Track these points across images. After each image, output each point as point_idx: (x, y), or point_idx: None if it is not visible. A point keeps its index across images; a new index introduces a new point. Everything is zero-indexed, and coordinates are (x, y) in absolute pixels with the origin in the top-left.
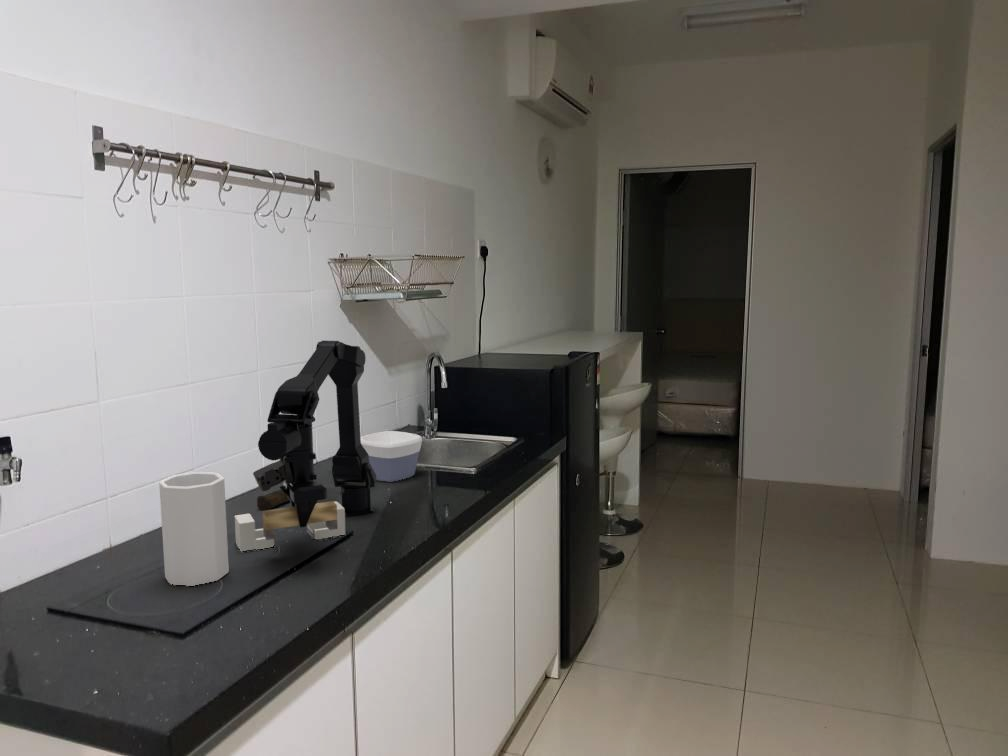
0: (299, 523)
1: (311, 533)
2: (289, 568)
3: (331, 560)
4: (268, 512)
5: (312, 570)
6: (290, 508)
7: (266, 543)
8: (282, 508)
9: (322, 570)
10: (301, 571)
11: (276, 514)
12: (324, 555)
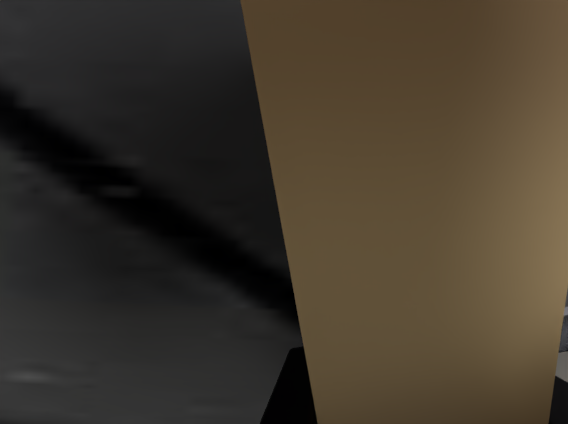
0: (287, 370)
1: None
2: (129, 162)
3: (197, 349)
4: (429, 74)
5: (79, 269)
6: (482, 419)
7: None
8: (550, 323)
9: (73, 310)
10: (73, 220)
11: (282, 223)
12: (273, 326)
